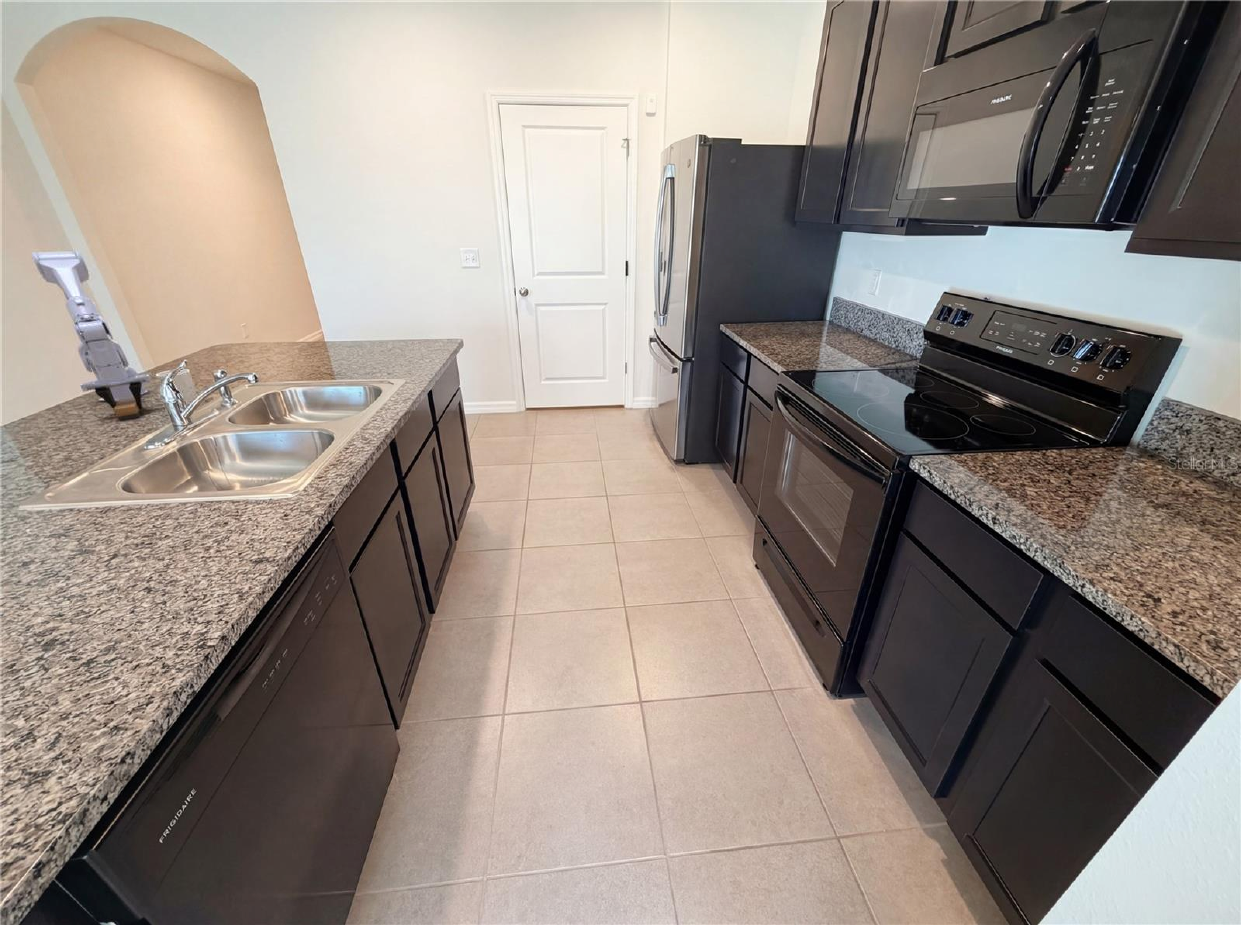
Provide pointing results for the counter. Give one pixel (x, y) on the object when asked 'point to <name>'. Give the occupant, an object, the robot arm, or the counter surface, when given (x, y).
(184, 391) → the white cup
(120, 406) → the scrub brush
